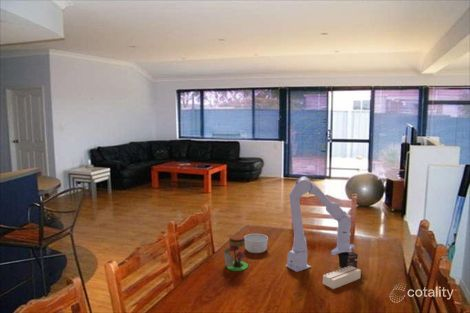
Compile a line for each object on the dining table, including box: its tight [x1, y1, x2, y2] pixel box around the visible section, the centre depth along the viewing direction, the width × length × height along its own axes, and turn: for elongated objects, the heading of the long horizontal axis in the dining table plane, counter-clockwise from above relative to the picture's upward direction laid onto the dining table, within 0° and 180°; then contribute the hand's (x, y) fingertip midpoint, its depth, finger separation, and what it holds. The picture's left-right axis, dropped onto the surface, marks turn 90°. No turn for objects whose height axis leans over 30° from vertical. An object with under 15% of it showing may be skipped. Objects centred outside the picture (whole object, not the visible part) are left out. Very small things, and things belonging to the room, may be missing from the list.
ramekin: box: [244, 233, 269, 254], centre depth 208 cm, size 13×13×7 cm
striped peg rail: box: [322, 266, 362, 290], centre depth 170 cm, size 18×6×4 cm, turn 124°
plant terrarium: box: [224, 234, 249, 272], centre depth 186 cm, size 12×13×15 cm
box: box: [342, 250, 359, 268], centre depth 184 cm, size 6×6×7 cm
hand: (342, 266), depth 182 cm, fingers closed, pressing on box
